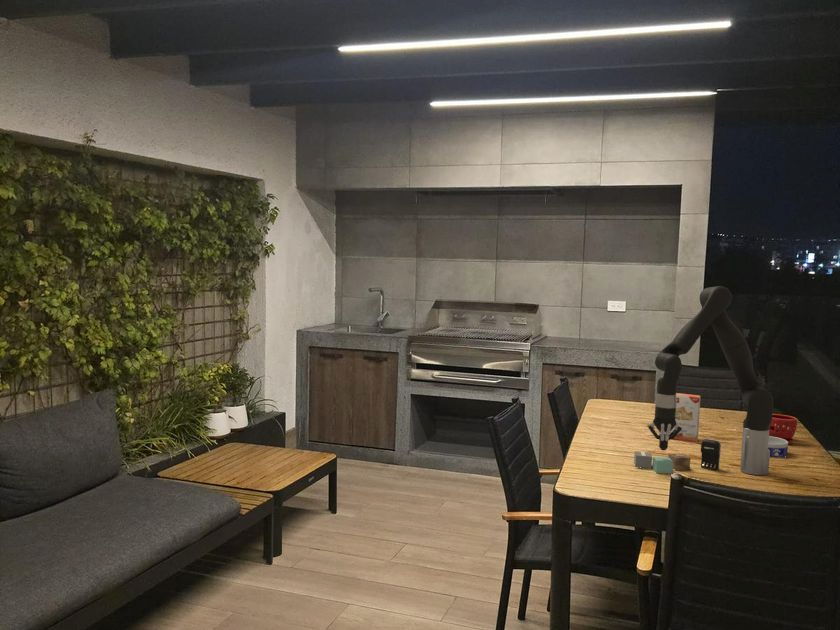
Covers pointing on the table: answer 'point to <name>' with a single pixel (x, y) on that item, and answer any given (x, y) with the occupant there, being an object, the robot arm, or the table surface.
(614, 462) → the table surface
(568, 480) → the table surface
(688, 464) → the dot block
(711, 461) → the battery
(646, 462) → the stripe block
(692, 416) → the cracker box
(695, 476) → the table surface
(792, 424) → the plant pot
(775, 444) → the dog bowl
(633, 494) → the table surface
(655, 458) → the plain block
